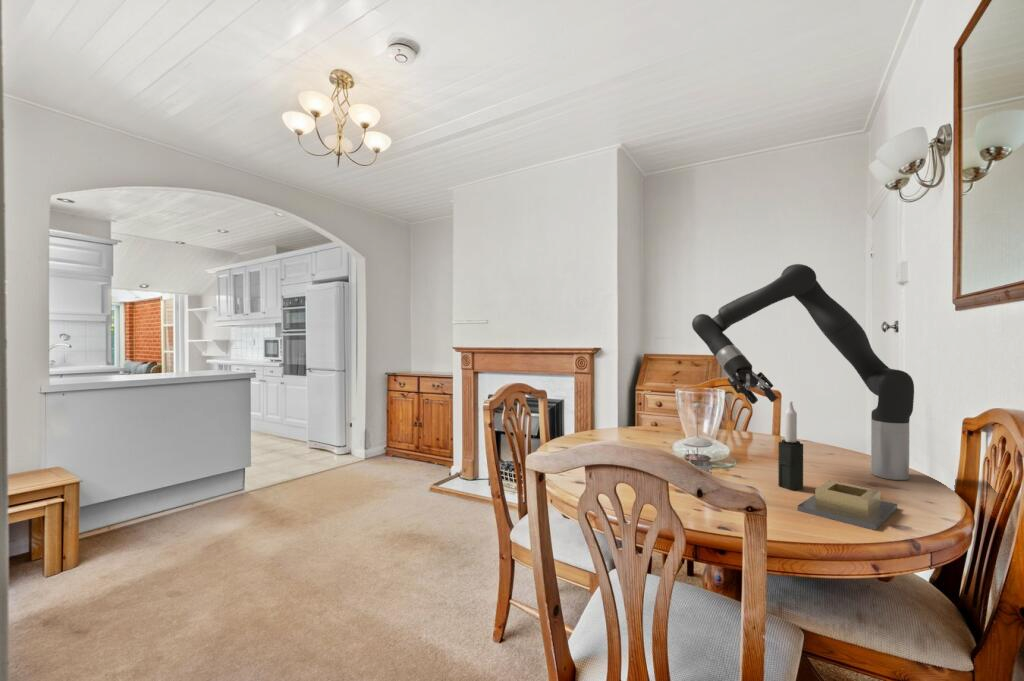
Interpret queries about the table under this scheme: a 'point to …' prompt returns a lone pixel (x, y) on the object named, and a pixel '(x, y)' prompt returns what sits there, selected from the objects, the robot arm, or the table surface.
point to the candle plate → (850, 516)
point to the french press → (697, 459)
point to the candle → (790, 454)
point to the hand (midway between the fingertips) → (765, 401)
